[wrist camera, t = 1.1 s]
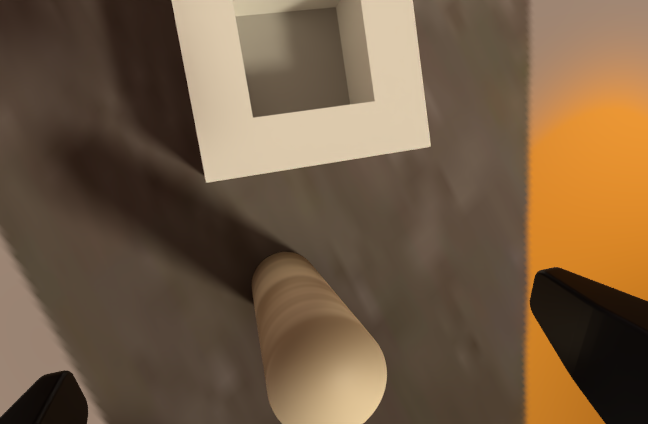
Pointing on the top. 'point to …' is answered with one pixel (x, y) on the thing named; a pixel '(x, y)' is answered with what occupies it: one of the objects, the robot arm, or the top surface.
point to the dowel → (313, 347)
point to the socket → (300, 82)
